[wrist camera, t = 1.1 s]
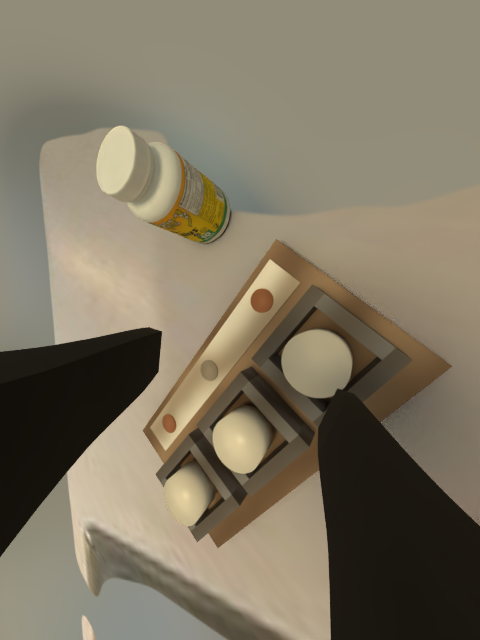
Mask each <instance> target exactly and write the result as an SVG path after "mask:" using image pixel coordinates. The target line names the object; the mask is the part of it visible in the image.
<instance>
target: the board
mask: <svg viewBox="0 0 480 640" xmlns="http://www.w3.org/2000/svg"><path fill="white" fill-rule="evenodd" d="M315 328H324V329H329V330H332V331H334V332H336V333H338V334H339V335H341V336H342V337H343V338H344V339H345V340H346V341H347V343H348V344H349V346H350V348H351V351H352V354H353V365H352V371H351V376H350V379H349V381H348V383H347V385H346V386H345V387H344V388H343V390H344V391H347V392H350V393H354V394H355V395H356V396H357V397H358V398H359V399H360V400H361V401H362V402H363V403H364V404H365V406H366V407H367V408H368V409H369V410H370V411H371V413H372V414H373V415H374V416H375V417H376V418H377V419H378V421H379V422H381V421H382V420H384V419H385V418H386V417H387V416H389V415H390V414H391V413H393V412H394V411H395V410H396V409H398V408H399V407H400V406H402V405H403V404H404V403H405V402H407V401H408V400H409V399H411V398H412V397H413V396H414V395H416V394H417V393H418V392H420V391H421V390H422V389H423V388H425V387H426V386H427V385H429V384H430V383H431V382H433V381H434V380H435V379H436V378H438V377H439V376H440V375H442V374H443V373H444V372H445V371H447V370H448V369H449V368H451V367H452V366H451V365H450V364H448V363H447V362H445V361H444V360H443V359H441V358H440V357H438V356H437V355H436V354H434V353H433V352H432V351H430V350H429V349H427V348H426V347H425V346H423V345H422V344H420V343H419V342H418V341H416V340H415V339H414V338H412V337H411V336H409V335H408V334H407V333H405V332H404V331H402V330H401V329H400V328H398V327H397V326H396V325H394V324H393V323H391V322H390V321H389V320H387V319H386V318H385V317H383V316H382V315H380V314H379V313H378V312H376V311H375V310H373V309H372V308H371V307H369V306H368V305H367V304H365V303H364V302H362V301H361V300H360V299H358V298H357V297H355V296H354V295H353V294H351V293H350V292H349V291H347V290H346V289H344V288H343V287H342V286H340V285H339V284H337V283H336V282H335V281H333V280H332V279H331V278H329V277H328V276H326V275H325V274H324V273H322V272H321V271H320V270H318V269H317V268H315V267H314V266H313V265H311V264H310V263H308V262H307V261H306V260H304V259H303V258H302V257H300V256H299V255H297V254H296V253H295V252H293V251H292V250H290V249H289V248H288V247H286V246H285V245H284V244H282V243H281V242H279V241H278V240H277V239H276V240H275V242H274V243H273V245H272V246H271V248H270V249H269V250H268V252H267V253H266V255H265V256H264V258H263V259H262V261H261V262H260V263H259V265H258V266H257V268H256V269H255V271H254V272H253V273H252V275H251V276H250V278H249V279H248V281H247V282H246V283H245V285H244V286H243V288H242V289H241V291H240V292H239V293H238V295H237V296H236V298H235V299H234V301H233V302H232V303H231V305H230V306H229V308H228V309H227V311H226V312H225V314H224V315H223V316H222V318H221V319H220V321H219V322H218V324H217V325H216V326H215V328H214V329H213V331H212V332H211V334H210V335H209V336H208V338H207V339H206V341H205V342H204V344H203V345H202V346H201V348H200V349H199V351H198V352H197V354H196V355H195V356H194V358H193V359H192V361H191V362H190V364H189V365H188V367H187V368H186V369H185V371H184V372H183V374H182V375H181V377H180V378H179V379H178V381H177V382H176V384H175V385H174V387H173V388H172V389H171V391H170V392H169V394H168V395H167V397H166V398H165V399H164V401H163V402H162V404H161V405H160V407H159V408H158V409H157V411H156V412H155V414H154V415H153V417H152V418H151V420H150V421H149V422H148V424H147V425H146V427H145V428H144V430H143V432H144V433H145V435H146V436H147V438H148V439H149V441H150V442H151V444H152V446H153V447H154V449H155V450H156V452H157V453H158V455H159V457H160V458H161V460H162V461H163V463H164V465H163V466H162V467H161V468H160V469H159V471H158V472H157V473H156V476H157V477H158V479H159V480H160V482H161V484H162V485H163V487H164V485H165V483H166V481H167V480H168V479H169V478H170V477H171V476H173V475H174V474H175V473H176V472H177V471H178V470H179V469H181V468H182V467H183V466H184V465H185V464H186V463H188V462H189V461H197V462H198V463H199V464H200V465H201V467H202V468H203V470H204V471H205V472H206V474H207V475H208V477H209V478H210V480H211V481H212V482H213V484H214V485H215V487H216V494H215V498H214V500H213V501H212V502H211V504H210V505H209V506H208V508H207V509H206V510H205V511H204V513H203V514H202V515H201V517H200V518H199V519H198V520H197V522H196V523H195V524H194V525H192V526H188V528H189V529H190V531H191V533H192V534H193V536H194V538H195V539H196V541H197V542H198V541H199V540H200V539H201V538H203V537H204V536H205V535H206V534H207V533H209V535H210V536H211V538H212V540H213V541H214V543H215V544H216V546H217V547H218V548H219V547H220V546H221V545H222V544H224V543H225V542H226V541H228V540H229V539H230V538H231V537H233V536H234V535H235V534H237V533H238V532H239V531H240V530H242V529H243V528H244V527H246V526H247V525H248V524H249V523H251V522H252V521H253V520H255V519H256V518H257V517H258V516H260V515H261V514H262V513H264V512H265V511H266V510H267V509H269V508H270V507H271V506H273V505H274V504H275V503H277V502H278V501H279V500H280V499H282V498H283V497H284V496H286V495H287V494H288V493H289V492H291V491H292V490H293V489H295V488H296V487H297V486H298V485H300V484H301V483H302V482H304V481H305V480H306V479H307V478H309V477H310V476H311V475H313V474H314V473H315V472H316V471H318V470H319V462H318V427H319V425H320V423H321V421H322V419H323V417H324V415H325V413H326V411H327V409H328V406H329V404H330V402H331V400H332V398H333V396H331V397H327V398H313V397H309V396H306V395H304V394H302V393H300V392H298V391H297V390H296V389H295V388H293V387H292V386H291V384H290V383H289V382H288V381H287V379H286V377H285V375H284V373H283V369H282V363H281V359H282V353H283V350H284V348H285V346H286V344H287V343H288V342H289V341H290V340H291V339H292V338H293V337H294V336H296V335H298V334H300V333H303V332H305V331H308V330H311V329H315ZM242 405H249V406H252V407H255V408H257V409H258V410H260V411H261V412H262V413H263V414H264V415H265V417H266V418H267V419H268V421H269V423H270V425H271V427H272V432H273V441H272V444H271V446H270V448H269V449H268V451H267V452H266V454H265V455H264V457H263V458H262V460H261V461H260V463H259V464H258V466H257V467H256V468H255V469H254V470H253V471H252V472H250V473H246V474H241V473H237V472H234V471H232V470H230V469H229V468H228V467H226V466H225V465H224V464H223V463H222V461H221V460H220V459H219V457H218V455H217V454H216V451H215V449H214V445H213V430H214V428H215V426H216V424H217V423H218V422H219V421H220V420H221V419H223V418H224V417H225V416H226V415H228V414H229V413H230V412H232V411H233V410H234V409H235V408H237V407H239V406H242Z"/></svg>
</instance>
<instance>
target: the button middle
mask: <svg viewBox="0 0 480 640" xmlns="http://www.w3.org/2000/svg"><path fill="white" fill-rule="evenodd" d="M272 441H273V432H272V427H271V425H270V423H269V421H268V419H267V418H266V417H265V415H264V414H263V413H262V412H261V411H260V410H258V409H257V408H255V407H252V406H249V405H242V406H239V407H237V408H235V409H234V410H233V411H232V412H230V413H229V414H228V415H226V416H225V417H224V418H223V419H221V420H220V421H219V422H218V423H217V424H216V426H215V428H214V430H213V445H214V449H215V451H216V454H217V455H218V457H219V459H220V460H221V461H222V463H223V464H224V465H225V466H226V467H228V468H229V469H230V470H232V471H234V472H237V473H241V474H246V473H250V472H252V471H253V470H254V469H255V468H256V467H257V466H258V464H259V463H260V461H261V460H262V458H263V457H264V455H265V454H266V452H267V451H268V449H269V448H270V446H271V444H272Z"/></svg>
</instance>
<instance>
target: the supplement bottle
mask: <svg viewBox="0 0 480 640" xmlns="http://www.w3.org/2000/svg"><path fill="white" fill-rule="evenodd" d="M96 171H97V180H98V183H99V186H100V188H101V189H102V190H103V191H104V192H105V193H106V194H108V195H110V196H112V197H114V198H116V199H118V200H120V201H122V202H127V203H128V206H129V207H130V209H131V211H132V212H133V213H134V214H135V215H136V216H137V217H138V218H140V219H142V220H143V221H146V222H148V223H150V224H153V225H155V226H158V227H160V228H163V229H165V230H168V231H170V232H173V233H176V234H178V235H180V236H183V237H185V238H188V239H190V240H192V241H195V242H198V243H210V242H212V241H213V240H215V239H216V238H218V237H219V236H220V235H221V234H222V233H223V231H224V230H225V228H226V226H227V224H228V221H229V216H230V206H229V201H228V199H227V197H226V195H225V193H224V192H223V191H222V190H221V189H220V188H219V187H217V186H216V185H215V184H214V183H213V182H212V181H210V180H209V179H208V178H206V177H205V176H204V175H203V174H202V173H201V172H199V171H198V170H197V169H196V168H194V166H192V165H191V164H190V163H189V162H188V161H187V160H185V159H184V158H183V157H181V156H180V155H179V154H178V153H177V152H176V151H174V150H173V149H172V148H170V147H169V146H168V145H166V144H164V143H160V142H151V143H148V144H147V143H146V141H145V140H144V139H143V138H141V137H140V136H138V135H137V134H135V133H134V132H133V131H131V130H130V129H129V128H127V127H125V126H117V127H115V128H113V129H112V130H111V131H110V132H109V133H108V134H107V136H106V137H105V139H104V141H103V142H102V145H101V147H100V151H99V154H98V158H97V168H96Z"/></svg>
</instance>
